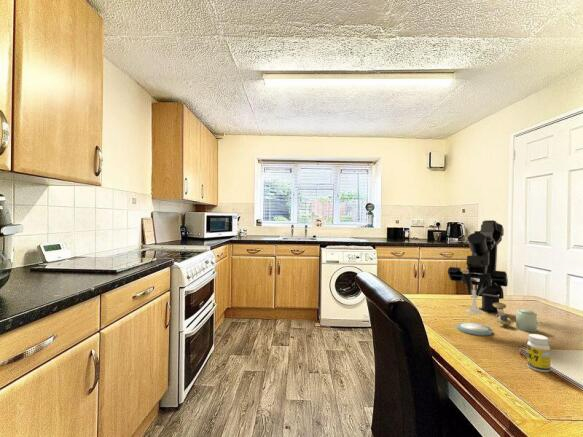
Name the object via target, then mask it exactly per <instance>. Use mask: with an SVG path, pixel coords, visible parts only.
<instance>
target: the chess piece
mask: <svg viewBox="0 0 583 437" xmlns="http://www.w3.org/2000/svg"><path fill="white" fill-rule="evenodd" d="M475 285H476V284H472V290H471V295H470V298H471V299H472V301H471V302H472V303H471V307H470V308H467V309H466V313H468V314H470V315H477V316H480V315H483V310H480V309H479V307H478V306H477V305H478V304H477V300H476V299H478V297H479V296H477V295H476V292H477V289H476V286H475Z"/></svg>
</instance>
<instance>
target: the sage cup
mask: <svg viewBox="0 0 583 437" xmlns="http://www.w3.org/2000/svg"><path fill="white" fill-rule="evenodd" d="M537 322H538V320H537V313H536V312H534V311H533V310H531V309H524V308H520V309H518V310H515V323H516V324H515V327H516V329H517V330H520V331H524V332H531V333H534V332H535V333H536V332H537V330H538V326H537V324H538V323H537Z"/></svg>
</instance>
